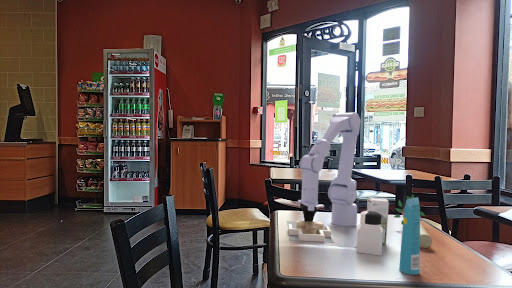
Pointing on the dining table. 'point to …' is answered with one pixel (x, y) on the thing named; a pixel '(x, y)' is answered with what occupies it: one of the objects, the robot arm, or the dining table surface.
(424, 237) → the flower vase
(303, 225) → the t block
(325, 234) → the dock
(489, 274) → the dining table surface
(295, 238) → the board
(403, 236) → the tube
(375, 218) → the medicine bottle
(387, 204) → the syrup box
